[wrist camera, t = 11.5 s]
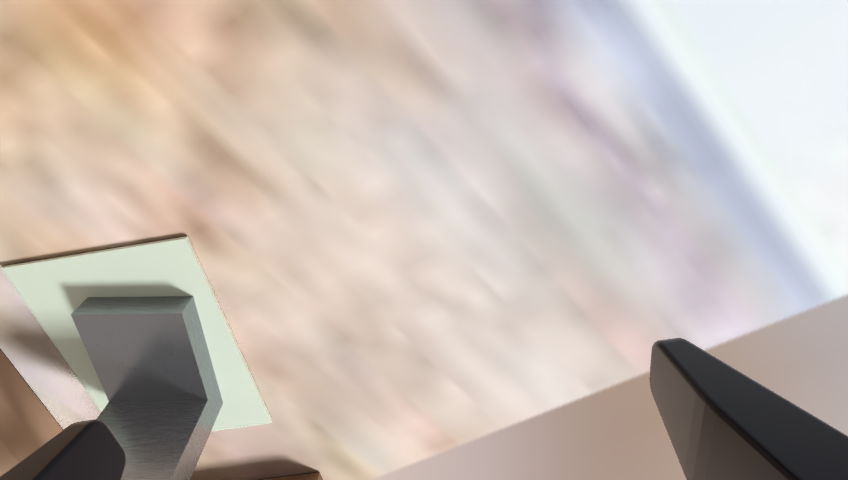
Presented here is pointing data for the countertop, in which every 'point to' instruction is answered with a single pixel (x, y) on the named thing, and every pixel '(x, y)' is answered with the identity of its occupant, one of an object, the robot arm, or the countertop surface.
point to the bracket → (152, 380)
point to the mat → (137, 277)
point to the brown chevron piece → (37, 422)
